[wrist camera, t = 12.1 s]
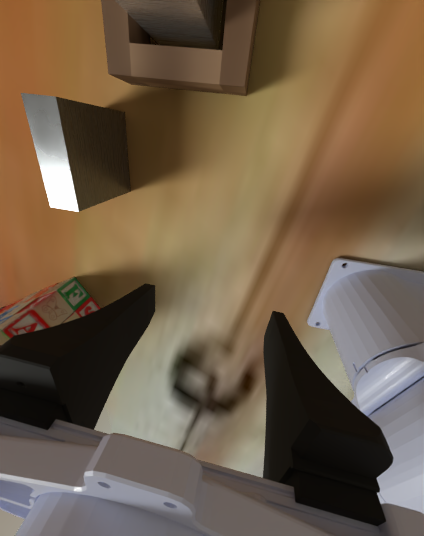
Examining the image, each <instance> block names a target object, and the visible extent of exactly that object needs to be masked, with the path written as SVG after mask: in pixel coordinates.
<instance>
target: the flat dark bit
mask: <svg viewBox="0 0 424 536" xmlns="http://www.w3.org/2000/svg"><path fill="white" fill-rule="evenodd" d="M21 95H22V99H23V103H24V107H25V111H26V114H27V118H28V122H29V126H30V130H31V134H32V138H33V141H34V145H35V149H36V153H37V157H38V161H39V165H40V168H41V172H42V176H43V180H44V184H45V188H46V192H47V196H48V199H49V203H50V207H53V208H59V209H65V210H71V211H77V212H79V211H82V210H84V209H87V208H89V207H92V206H94V205H97V204H100V203H102V202H105V201H107V200H110V199H112V198H115V197H118V196H120V195H123V194H125V193H128V192H130V191H131V188H130V175H129V162H128V149H127V136H126V123H125V112H122V111H117V110H113V109H108V108H104V107H99V106H95V105H90V104H86V103H82V102H77V101H73V100H68V99H64V98H59V97H54V96H45V95H35V94H26V93H21Z"/></svg>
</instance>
